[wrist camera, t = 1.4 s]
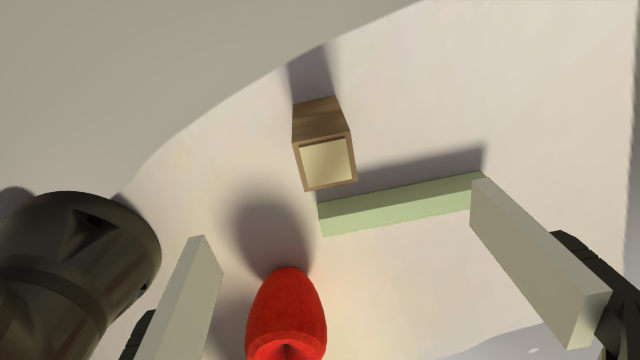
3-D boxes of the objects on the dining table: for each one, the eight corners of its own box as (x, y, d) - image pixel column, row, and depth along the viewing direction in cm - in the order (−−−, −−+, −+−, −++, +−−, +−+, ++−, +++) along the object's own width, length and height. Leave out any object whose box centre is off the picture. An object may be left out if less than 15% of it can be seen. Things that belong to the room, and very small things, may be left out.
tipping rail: (321, 220, 35) (323, 237, 33) (317, 203, 34) (318, 220, 32) (478, 189, 35) (493, 204, 32) (480, 170, 34) (495, 184, 31)
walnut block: (302, 143, 31) (304, 193, 23) (292, 104, 29) (291, 144, 21) (342, 135, 30) (358, 182, 23) (335, 95, 28) (350, 131, 21)
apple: (280, 311, 43) (275, 398, 33) (238, 275, 39) (220, 362, 29) (334, 284, 41) (346, 368, 31) (296, 243, 37) (296, 325, 28)
